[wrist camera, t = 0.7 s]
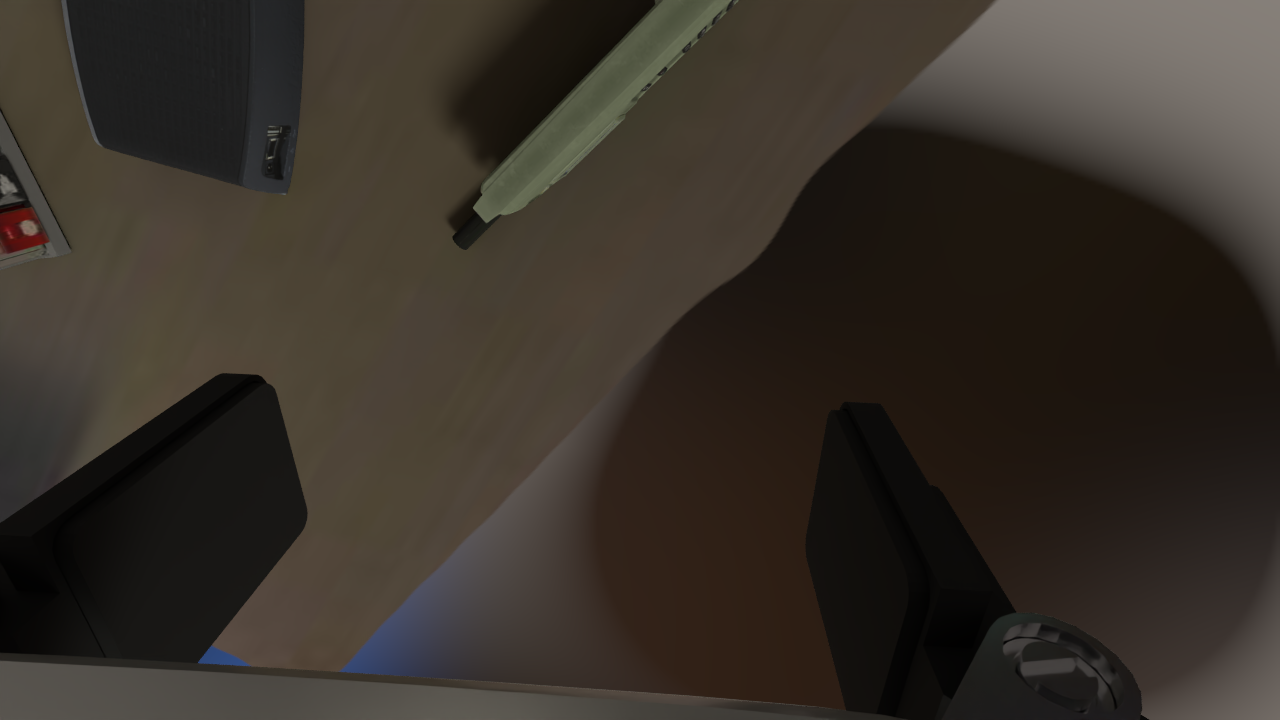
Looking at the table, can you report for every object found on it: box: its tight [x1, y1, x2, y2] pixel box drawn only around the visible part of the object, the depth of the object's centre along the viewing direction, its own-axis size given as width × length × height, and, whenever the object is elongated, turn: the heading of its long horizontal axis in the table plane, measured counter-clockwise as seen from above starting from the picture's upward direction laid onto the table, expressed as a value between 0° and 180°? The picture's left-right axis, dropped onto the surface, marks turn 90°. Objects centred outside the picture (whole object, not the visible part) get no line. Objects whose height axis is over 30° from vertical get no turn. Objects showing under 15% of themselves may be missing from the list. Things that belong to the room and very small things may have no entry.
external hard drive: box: [61, 0, 304, 195], centre depth 38 cm, size 13×19×4 cm
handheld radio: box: [453, 0, 739, 250], centre depth 37 cm, size 7×3×25 cm
